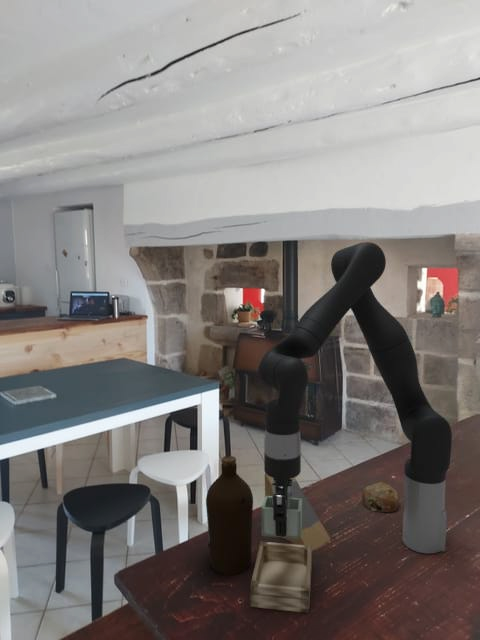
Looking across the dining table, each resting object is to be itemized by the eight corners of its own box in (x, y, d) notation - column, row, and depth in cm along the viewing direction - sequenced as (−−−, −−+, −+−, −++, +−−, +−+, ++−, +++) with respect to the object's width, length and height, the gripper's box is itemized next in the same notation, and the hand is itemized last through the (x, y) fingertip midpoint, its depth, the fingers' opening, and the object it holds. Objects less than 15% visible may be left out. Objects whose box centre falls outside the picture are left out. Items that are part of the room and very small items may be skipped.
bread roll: (360, 518, 140) (358, 499, 136) (365, 489, 148) (364, 470, 144) (397, 525, 136) (396, 505, 132) (400, 494, 144) (400, 475, 140)
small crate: (302, 524, 107) (302, 498, 106) (300, 539, 102) (300, 511, 101) (264, 521, 109) (264, 495, 108) (261, 535, 103) (261, 508, 102)
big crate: (311, 564, 113) (311, 545, 113) (308, 613, 98) (309, 591, 97) (260, 560, 115) (260, 541, 115) (250, 606, 100) (250, 585, 99)
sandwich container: (309, 553, 118) (309, 493, 116) (264, 527, 129) (263, 472, 127) (332, 540, 123) (332, 482, 121) (287, 516, 135) (287, 463, 133)
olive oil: (260, 554, 118) (259, 452, 114) (243, 581, 108) (242, 471, 105) (218, 545, 121) (216, 446, 118) (199, 570, 112) (196, 464, 108)
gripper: (298, 466, 95) (298, 548, 97) (302, 439, 109) (302, 511, 111) (259, 463, 97) (260, 545, 99) (268, 437, 111) (268, 509, 113)
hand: (282, 527), depth 105 cm, fingers closed on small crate, 5 cm apart
